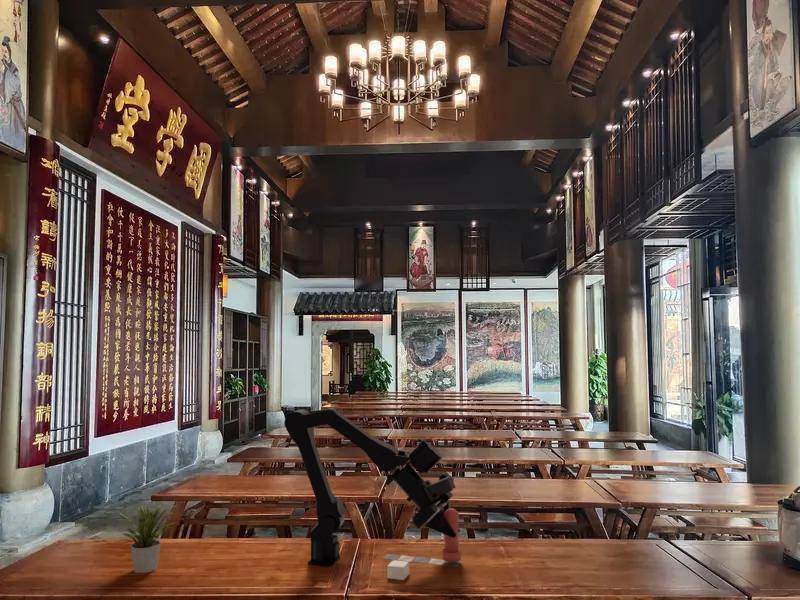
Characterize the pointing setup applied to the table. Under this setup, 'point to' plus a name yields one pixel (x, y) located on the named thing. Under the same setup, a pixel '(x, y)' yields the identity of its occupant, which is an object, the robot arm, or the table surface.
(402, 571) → the white cube
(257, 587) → the table surface
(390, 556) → the track board
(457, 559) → the pawn
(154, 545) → the house plant
